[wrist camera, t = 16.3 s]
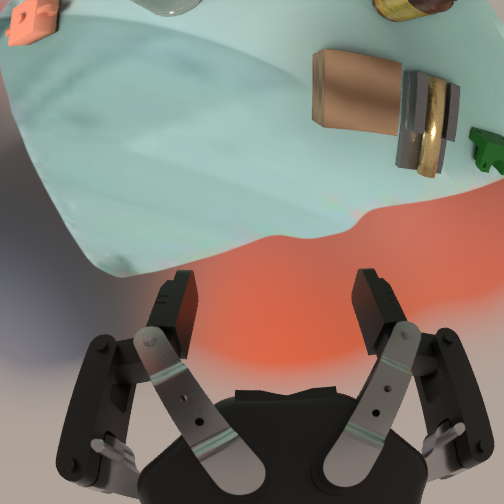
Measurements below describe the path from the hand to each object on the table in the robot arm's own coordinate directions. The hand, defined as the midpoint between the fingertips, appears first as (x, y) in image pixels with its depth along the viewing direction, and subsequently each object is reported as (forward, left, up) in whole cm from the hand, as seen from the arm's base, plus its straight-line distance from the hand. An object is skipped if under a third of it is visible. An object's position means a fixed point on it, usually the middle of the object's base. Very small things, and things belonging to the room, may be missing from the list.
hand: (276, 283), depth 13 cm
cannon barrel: (-6, +26, -29) cm, 39 cm away
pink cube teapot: (-30, -37, -30) cm, 57 cm away
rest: (-6, +26, -30) cm, 40 cm away
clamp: (-4, +43, -30) cm, 53 cm away
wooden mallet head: (-9, +12, -30) cm, 34 cm away
